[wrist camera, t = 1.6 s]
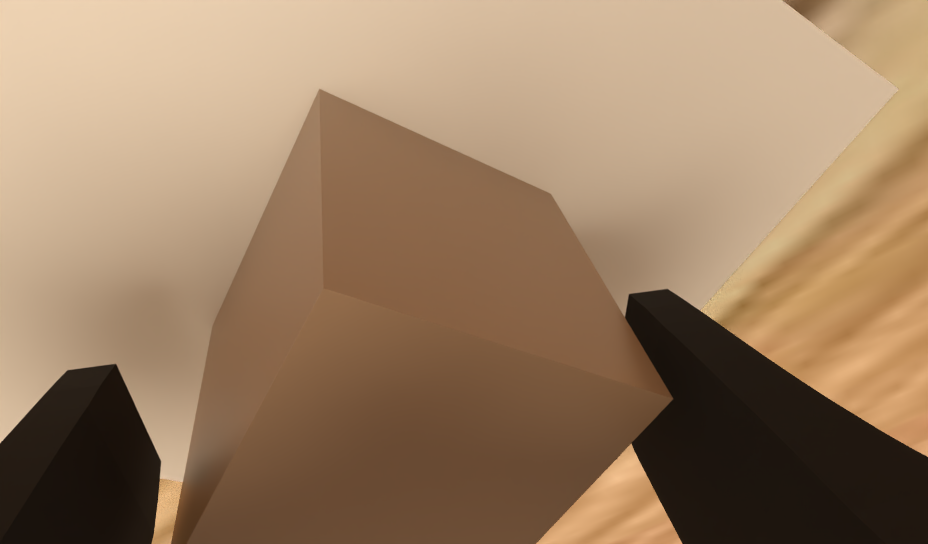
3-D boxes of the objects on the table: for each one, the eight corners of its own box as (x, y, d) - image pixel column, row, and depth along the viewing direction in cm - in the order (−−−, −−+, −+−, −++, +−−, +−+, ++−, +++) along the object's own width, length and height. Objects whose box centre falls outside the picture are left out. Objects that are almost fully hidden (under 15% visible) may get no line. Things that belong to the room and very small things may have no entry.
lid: (868, 74, 12) (1198, 238, 8) (493, 509, 18) (552, 744, 14) (39, -549, 6) (-659, -1424, 2) (-110, 397, 13) (-354, 746, 8)
